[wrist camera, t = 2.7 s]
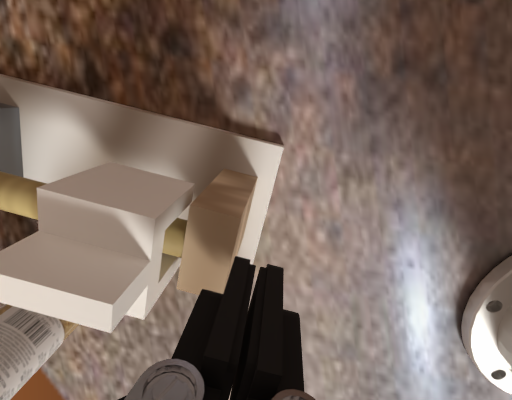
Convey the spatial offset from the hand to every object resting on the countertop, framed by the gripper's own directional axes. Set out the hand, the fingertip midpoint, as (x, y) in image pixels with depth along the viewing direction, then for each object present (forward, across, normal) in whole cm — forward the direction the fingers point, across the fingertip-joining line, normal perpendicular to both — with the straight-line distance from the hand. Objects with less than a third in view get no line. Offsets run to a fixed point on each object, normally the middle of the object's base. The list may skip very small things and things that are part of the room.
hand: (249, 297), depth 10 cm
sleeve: (+4, +5, 0) cm, 7 cm away
